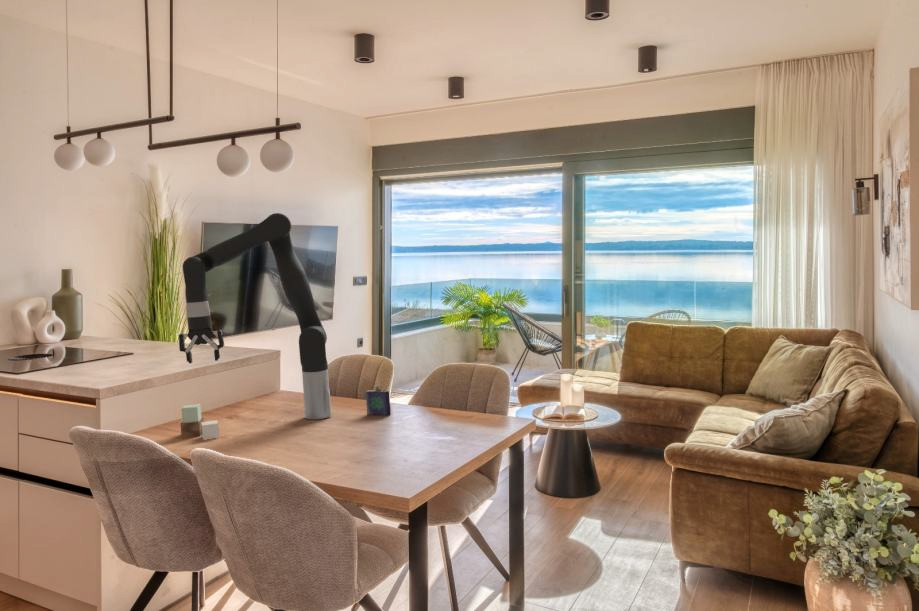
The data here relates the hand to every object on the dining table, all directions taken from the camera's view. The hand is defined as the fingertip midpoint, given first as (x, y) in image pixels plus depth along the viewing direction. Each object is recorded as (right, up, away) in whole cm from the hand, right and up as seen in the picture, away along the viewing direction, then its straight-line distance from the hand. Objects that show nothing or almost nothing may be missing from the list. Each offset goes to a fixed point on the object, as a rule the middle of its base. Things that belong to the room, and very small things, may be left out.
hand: (203, 361), depth 227 cm
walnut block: (-2, -25, -3) cm, 25 cm away
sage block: (-2, -20, -4) cm, 20 cm away
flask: (+59, -21, +12) cm, 64 cm away
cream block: (+6, -25, -8) cm, 26 cm away
